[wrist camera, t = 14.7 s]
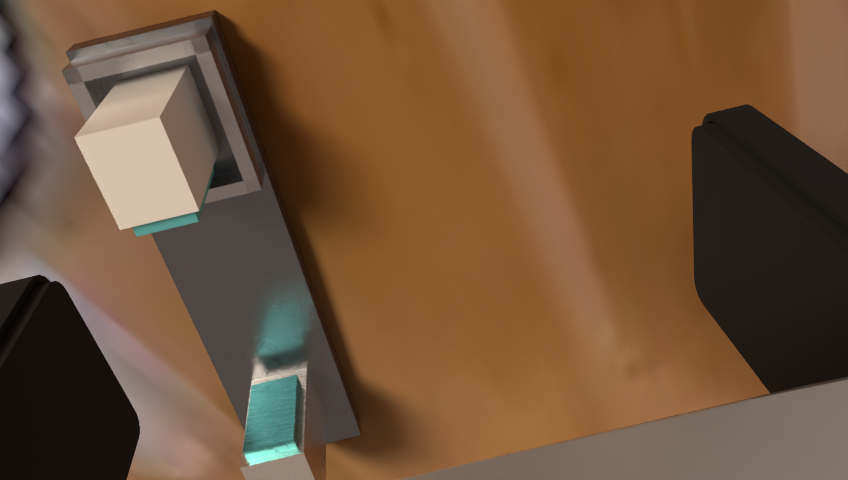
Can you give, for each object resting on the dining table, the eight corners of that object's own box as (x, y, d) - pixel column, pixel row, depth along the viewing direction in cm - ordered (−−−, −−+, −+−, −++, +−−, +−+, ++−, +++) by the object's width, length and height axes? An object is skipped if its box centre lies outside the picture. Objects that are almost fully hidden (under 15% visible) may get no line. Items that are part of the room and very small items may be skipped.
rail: (360, 420, 57) (365, 523, 49) (259, 444, 57) (248, 550, 49) (214, 10, 41) (186, 61, 32) (73, 44, 41) (10, 103, 32)
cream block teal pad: (188, 64, 40) (159, 117, 34) (224, 158, 43) (205, 224, 37) (117, 81, 40) (74, 137, 34) (158, 174, 43) (126, 243, 37)
